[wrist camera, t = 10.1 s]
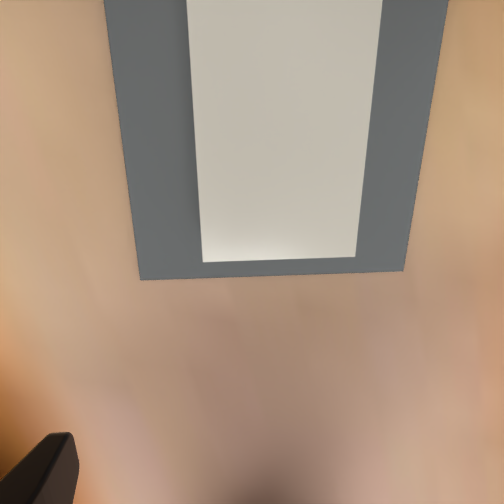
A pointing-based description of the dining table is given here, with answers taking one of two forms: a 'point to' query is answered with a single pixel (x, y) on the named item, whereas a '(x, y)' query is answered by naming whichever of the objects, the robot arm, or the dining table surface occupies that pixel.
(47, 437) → the robot arm
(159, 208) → the mat
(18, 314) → the dining table surface
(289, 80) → the block
